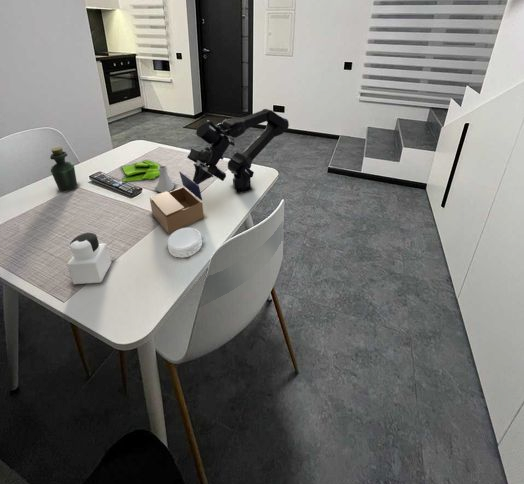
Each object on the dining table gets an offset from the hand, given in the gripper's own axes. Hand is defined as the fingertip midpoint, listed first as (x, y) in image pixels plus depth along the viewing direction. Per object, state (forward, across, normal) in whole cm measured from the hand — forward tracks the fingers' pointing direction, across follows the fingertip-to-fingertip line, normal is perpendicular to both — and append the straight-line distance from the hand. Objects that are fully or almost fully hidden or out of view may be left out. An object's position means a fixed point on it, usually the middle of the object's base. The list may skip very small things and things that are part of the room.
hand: (192, 186), depth 103 cm
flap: (0, 0, -1) cm, 1 cm away
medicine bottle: (+32, +8, -18) cm, 38 cm away
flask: (+9, -21, +5) cm, 23 cm away
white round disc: (+15, +16, -2) cm, 22 cm away
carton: (+12, 0, +2) cm, 12 cm away
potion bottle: (+30, -49, -16) cm, 60 cm away
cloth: (+10, -44, +4) cm, 45 cm away
